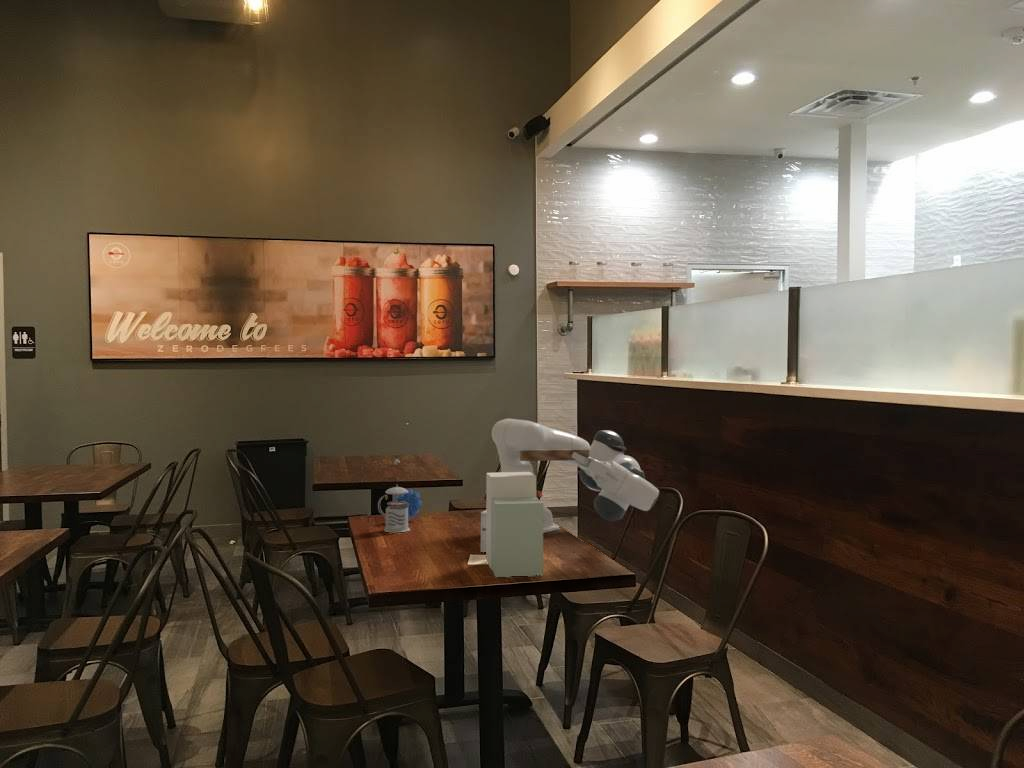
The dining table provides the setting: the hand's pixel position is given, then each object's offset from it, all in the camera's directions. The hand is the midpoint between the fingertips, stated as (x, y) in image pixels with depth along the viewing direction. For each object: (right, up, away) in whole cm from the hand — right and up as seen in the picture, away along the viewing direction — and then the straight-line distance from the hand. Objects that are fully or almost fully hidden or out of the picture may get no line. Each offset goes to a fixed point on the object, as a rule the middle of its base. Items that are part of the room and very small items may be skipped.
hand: (570, 453), depth 225 cm
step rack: (-17, -32, -6) cm, 37 cm away
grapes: (-56, -31, +62) cm, 89 cm away
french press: (-58, -31, +45) cm, 80 cm away
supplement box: (-22, -32, +14) cm, 41 cm away
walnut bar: (-5, -2, -1) cm, 5 cm away
